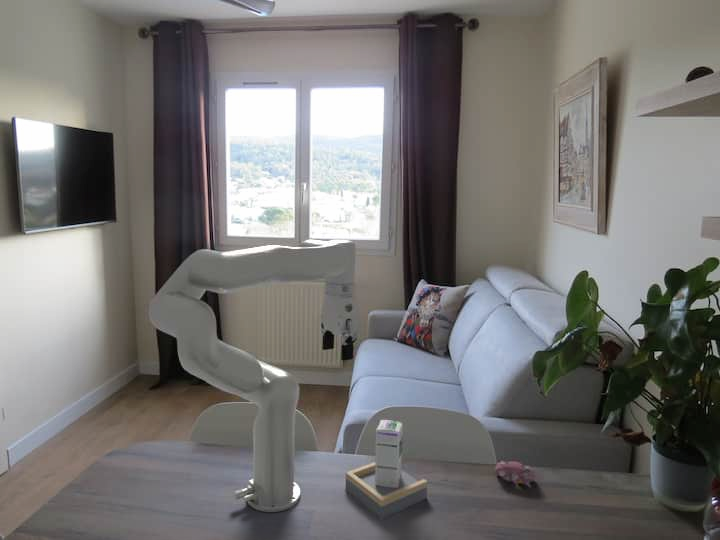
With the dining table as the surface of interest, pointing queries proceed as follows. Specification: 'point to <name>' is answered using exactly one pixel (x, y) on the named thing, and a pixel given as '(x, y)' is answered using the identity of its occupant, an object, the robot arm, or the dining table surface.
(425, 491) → the tray
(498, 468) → the pink toy figure
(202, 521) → the dining table surface
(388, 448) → the syrup box
